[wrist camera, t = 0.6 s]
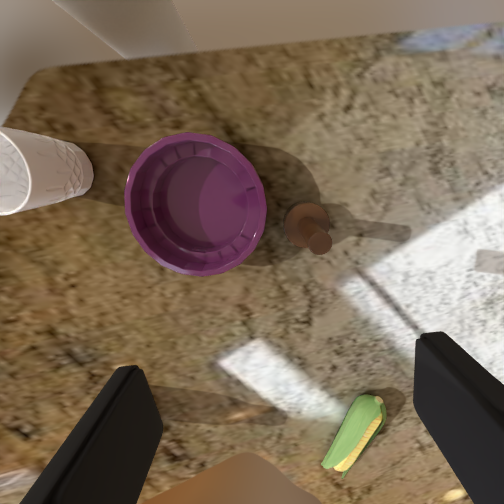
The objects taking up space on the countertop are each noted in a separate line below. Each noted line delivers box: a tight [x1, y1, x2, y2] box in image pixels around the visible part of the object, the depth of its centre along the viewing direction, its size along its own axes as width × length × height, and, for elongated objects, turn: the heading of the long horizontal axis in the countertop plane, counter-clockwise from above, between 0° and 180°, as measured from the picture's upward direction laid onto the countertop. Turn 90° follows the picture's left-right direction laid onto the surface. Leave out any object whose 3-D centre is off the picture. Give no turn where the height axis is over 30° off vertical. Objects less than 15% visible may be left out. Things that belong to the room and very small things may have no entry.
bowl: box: [124, 132, 267, 277], centre depth 30 cm, size 15×15×6 cm
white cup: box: [0, 127, 94, 215], centre depth 27 cm, size 8×8×10 cm
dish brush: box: [284, 202, 332, 255], centre depth 28 cm, size 5×5×10 cm
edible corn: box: [321, 394, 386, 479], centre depth 42 cm, size 5×20×5 cm, turn 163°
